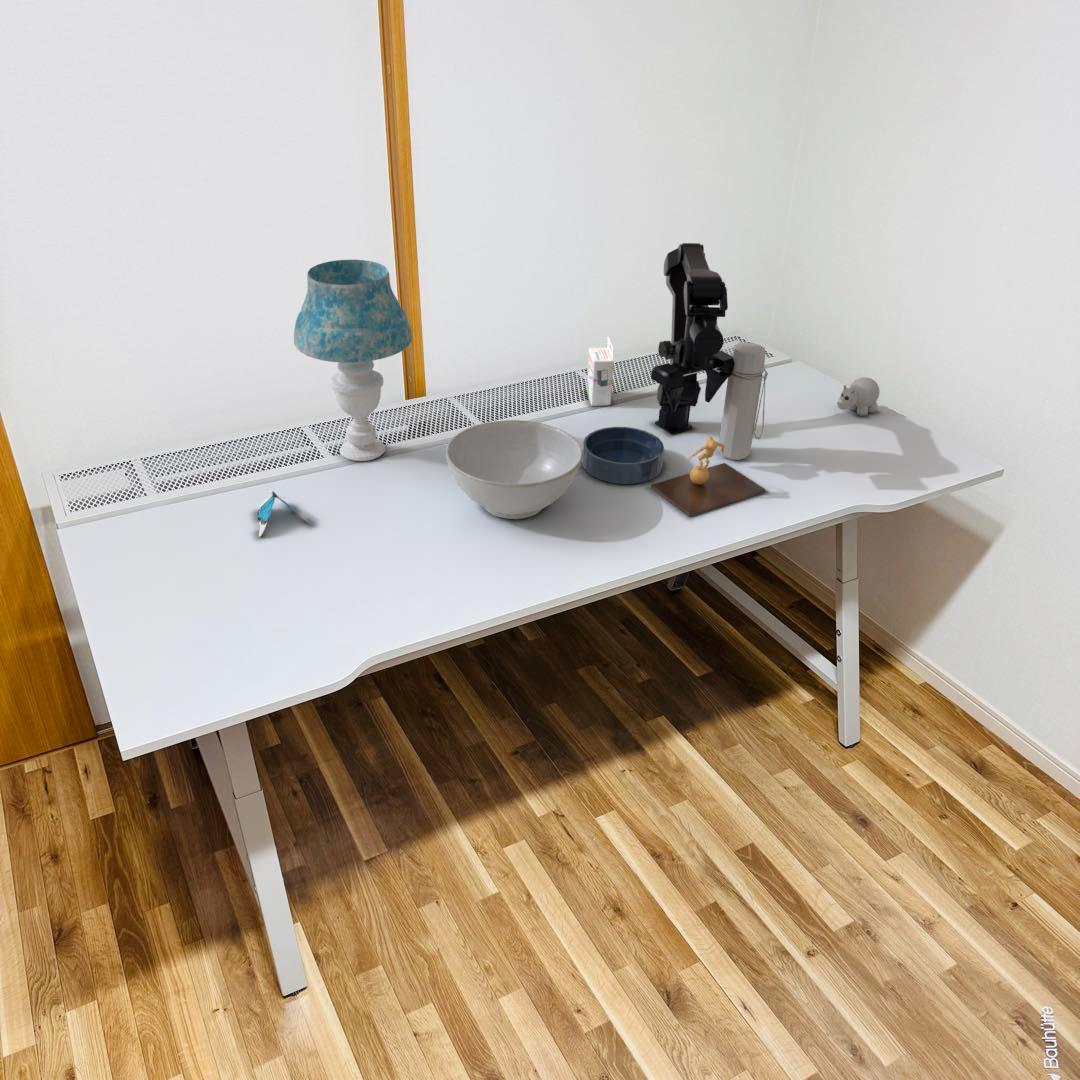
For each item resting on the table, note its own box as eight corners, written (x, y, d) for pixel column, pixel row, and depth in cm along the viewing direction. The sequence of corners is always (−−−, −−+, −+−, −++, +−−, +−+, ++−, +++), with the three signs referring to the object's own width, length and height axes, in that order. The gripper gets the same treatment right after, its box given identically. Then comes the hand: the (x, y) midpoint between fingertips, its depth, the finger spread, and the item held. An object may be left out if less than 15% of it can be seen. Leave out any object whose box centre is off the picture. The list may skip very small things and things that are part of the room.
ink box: (585, 391, 245) (588, 335, 237) (605, 391, 246) (609, 334, 238) (590, 406, 238) (594, 348, 230) (611, 406, 238) (615, 348, 230)
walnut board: (724, 465, 215) (724, 462, 214) (764, 492, 205) (765, 489, 205) (650, 488, 206) (650, 484, 205) (689, 517, 196) (689, 513, 196)
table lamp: (405, 421, 229) (395, 249, 207) (428, 470, 210) (420, 286, 188) (300, 434, 222) (279, 258, 200) (315, 485, 203) (293, 296, 181)
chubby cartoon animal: (823, 412, 239) (830, 379, 234) (859, 402, 244) (866, 370, 239) (845, 423, 233) (852, 390, 229) (881, 413, 239) (889, 381, 234)
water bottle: (713, 458, 217) (727, 351, 204) (721, 443, 223) (736, 338, 210) (754, 466, 215) (772, 359, 201) (761, 451, 221) (779, 345, 207)
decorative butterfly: (293, 482, 196) (306, 493, 188) (299, 512, 198) (312, 525, 190) (242, 493, 192) (253, 505, 184) (249, 524, 194) (260, 537, 186)
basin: (630, 440, 224) (632, 420, 221) (677, 473, 211) (680, 452, 209) (567, 457, 216) (568, 437, 213) (611, 492, 204) (613, 471, 201)
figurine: (709, 475, 209) (716, 424, 203) (725, 488, 205) (733, 436, 198) (676, 483, 206) (682, 431, 200) (692, 496, 202) (698, 444, 195)
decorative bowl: (516, 458, 215) (517, 408, 208) (607, 505, 199) (611, 452, 193) (420, 500, 199) (417, 447, 192) (510, 555, 183) (511, 499, 177)
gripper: (709, 316, 211) (700, 383, 219) (638, 331, 202) (632, 400, 211) (743, 333, 203) (733, 402, 211) (671, 350, 194) (664, 421, 203)
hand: (690, 406), depth 209 cm, fingers open, 9 cm apart
